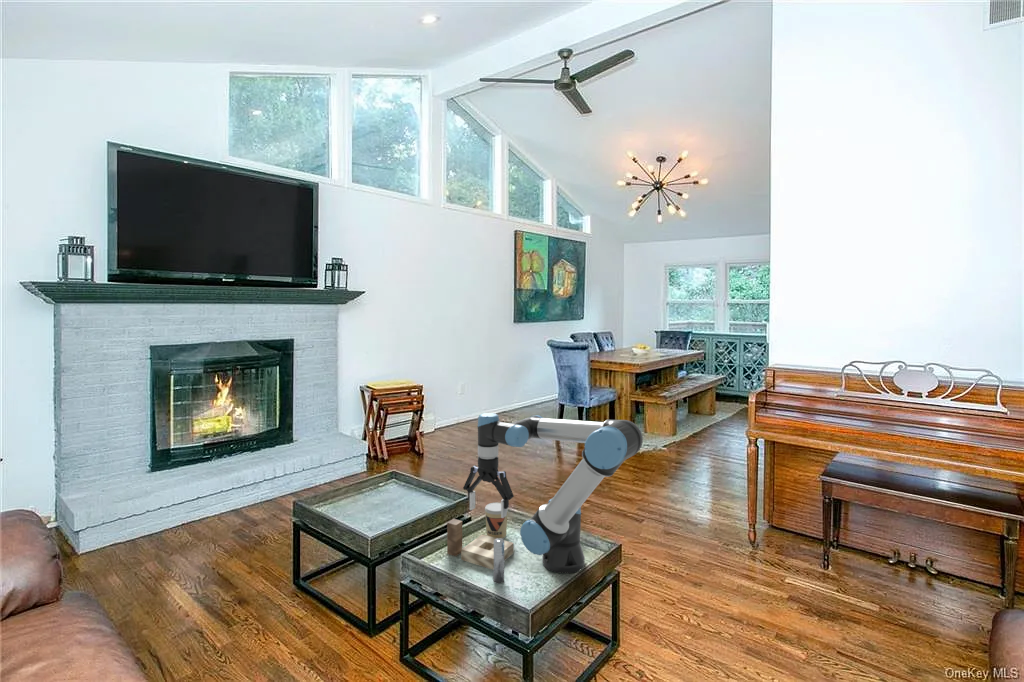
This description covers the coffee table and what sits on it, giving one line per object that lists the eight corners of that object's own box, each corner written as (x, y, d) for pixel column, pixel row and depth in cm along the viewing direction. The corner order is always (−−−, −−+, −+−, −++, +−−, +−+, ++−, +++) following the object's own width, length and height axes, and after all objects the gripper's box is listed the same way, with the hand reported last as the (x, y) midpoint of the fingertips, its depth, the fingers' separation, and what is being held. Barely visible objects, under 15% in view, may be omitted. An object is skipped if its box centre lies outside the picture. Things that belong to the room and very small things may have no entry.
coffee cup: (482, 540, 207) (482, 510, 206) (487, 529, 216) (487, 501, 215) (505, 542, 205) (506, 512, 204) (509, 531, 214) (510, 503, 213)
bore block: (513, 553, 196) (513, 542, 196) (493, 570, 184) (494, 559, 184) (482, 544, 203) (482, 534, 203) (461, 559, 191) (461, 549, 191)
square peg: (462, 552, 197) (462, 521, 196) (456, 556, 193) (456, 525, 192) (453, 549, 199) (453, 518, 198) (447, 553, 195) (447, 522, 194)
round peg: (506, 579, 178) (506, 539, 177) (500, 584, 175) (500, 544, 174) (496, 576, 180) (497, 537, 179) (491, 581, 177) (491, 541, 176)
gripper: (523, 458, 188) (522, 516, 189) (465, 448, 200) (465, 502, 202) (512, 464, 181) (512, 524, 183) (454, 453, 193) (454, 509, 195)
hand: (487, 512), depth 192 cm, fingers open, 13 cm apart
